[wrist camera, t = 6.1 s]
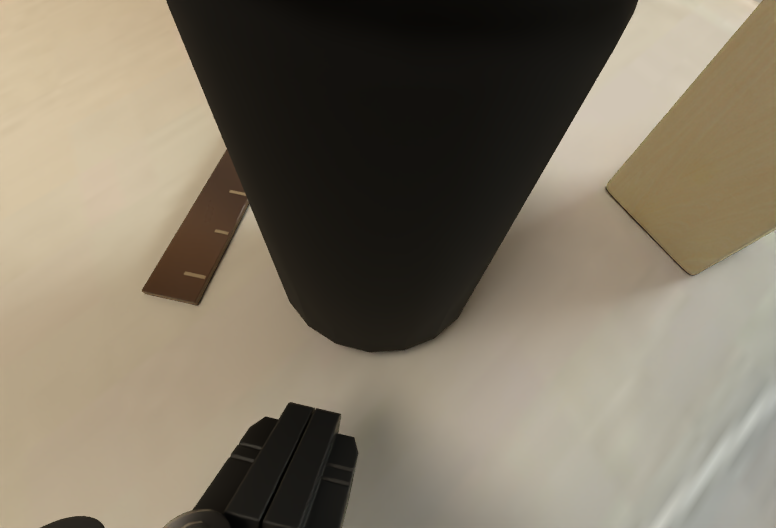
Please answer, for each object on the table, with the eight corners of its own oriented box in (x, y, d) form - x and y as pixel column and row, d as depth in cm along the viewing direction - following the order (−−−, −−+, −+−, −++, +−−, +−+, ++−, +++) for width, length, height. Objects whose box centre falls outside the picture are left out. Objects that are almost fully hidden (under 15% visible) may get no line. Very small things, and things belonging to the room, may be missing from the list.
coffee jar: (496, 336, 20) (937, -139, 5) (296, 380, 19) (-50, -141, 3) (438, 187, 25) (558, -281, 10) (276, 210, 24) (109, -312, 8)
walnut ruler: (197, 305, 20) (194, 302, 20) (144, 293, 20) (140, 290, 20) (290, 122, 28) (289, 117, 27) (251, 114, 28) (249, 109, 27)
